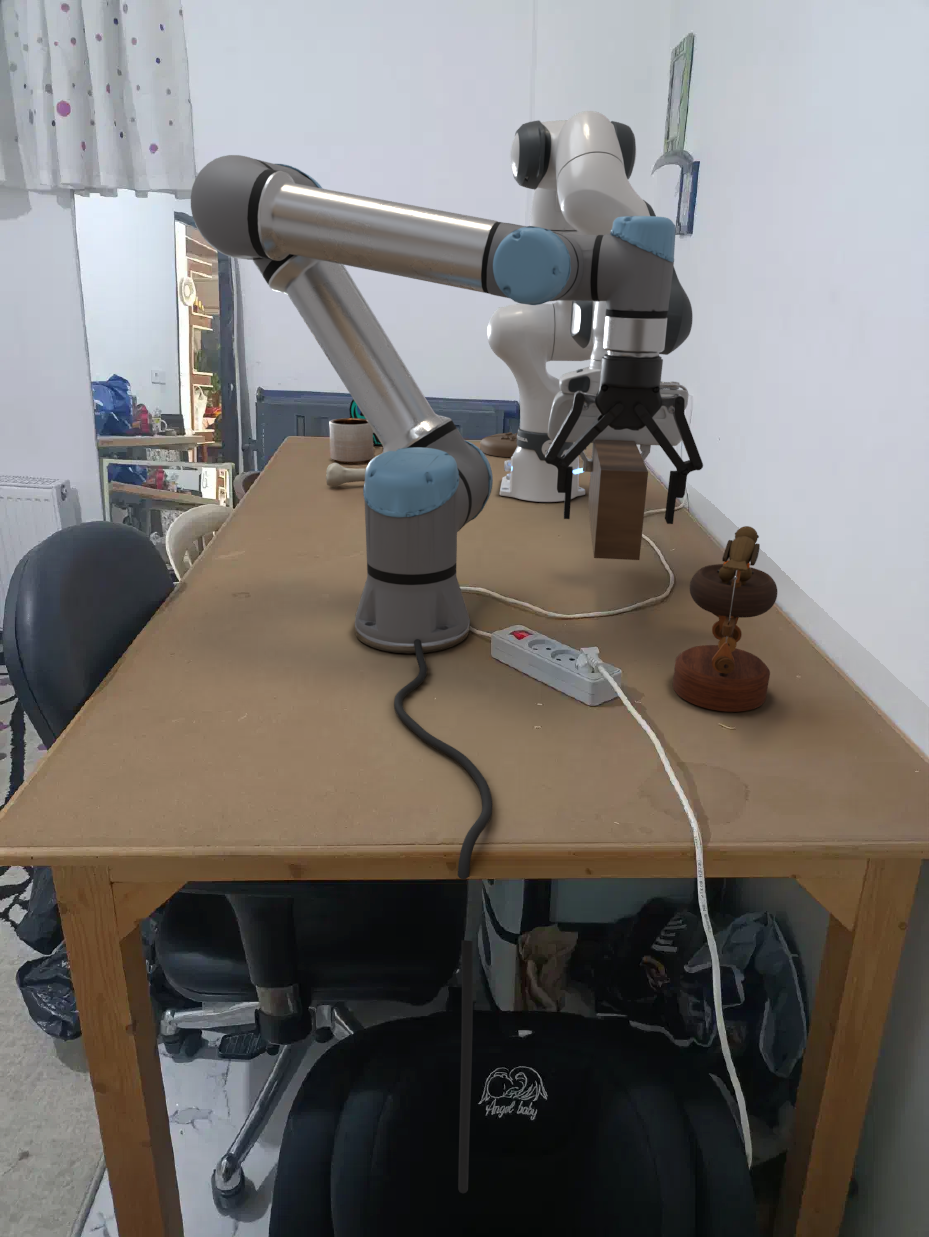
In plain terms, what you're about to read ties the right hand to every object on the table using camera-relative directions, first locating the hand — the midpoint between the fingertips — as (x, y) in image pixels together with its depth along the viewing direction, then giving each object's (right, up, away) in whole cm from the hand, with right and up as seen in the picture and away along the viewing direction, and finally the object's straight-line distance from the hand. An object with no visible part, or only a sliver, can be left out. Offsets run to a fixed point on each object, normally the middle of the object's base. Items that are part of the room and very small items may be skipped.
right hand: (610, 472), depth 131 cm
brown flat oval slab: (-8, +20, +91) cm, 94 cm away
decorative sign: (-50, +25, +102) cm, 116 cm away
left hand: (-2, -9, -17) cm, 20 cm away
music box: (+7, -31, -32) cm, 45 cm away
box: (-1, -10, -6) cm, 12 cm away
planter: (-51, +17, +83) cm, 99 cm away
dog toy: (-43, +7, +58) cm, 73 cm away
